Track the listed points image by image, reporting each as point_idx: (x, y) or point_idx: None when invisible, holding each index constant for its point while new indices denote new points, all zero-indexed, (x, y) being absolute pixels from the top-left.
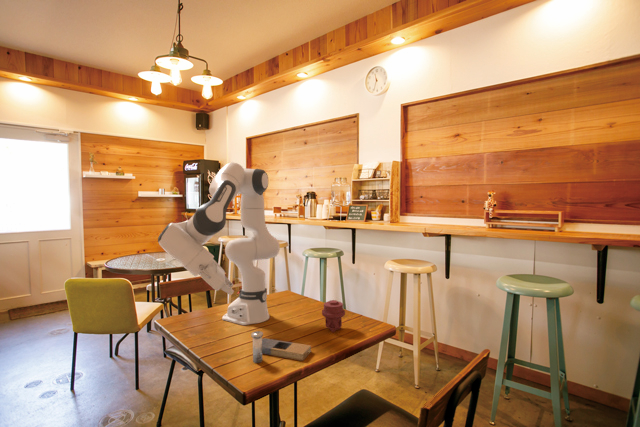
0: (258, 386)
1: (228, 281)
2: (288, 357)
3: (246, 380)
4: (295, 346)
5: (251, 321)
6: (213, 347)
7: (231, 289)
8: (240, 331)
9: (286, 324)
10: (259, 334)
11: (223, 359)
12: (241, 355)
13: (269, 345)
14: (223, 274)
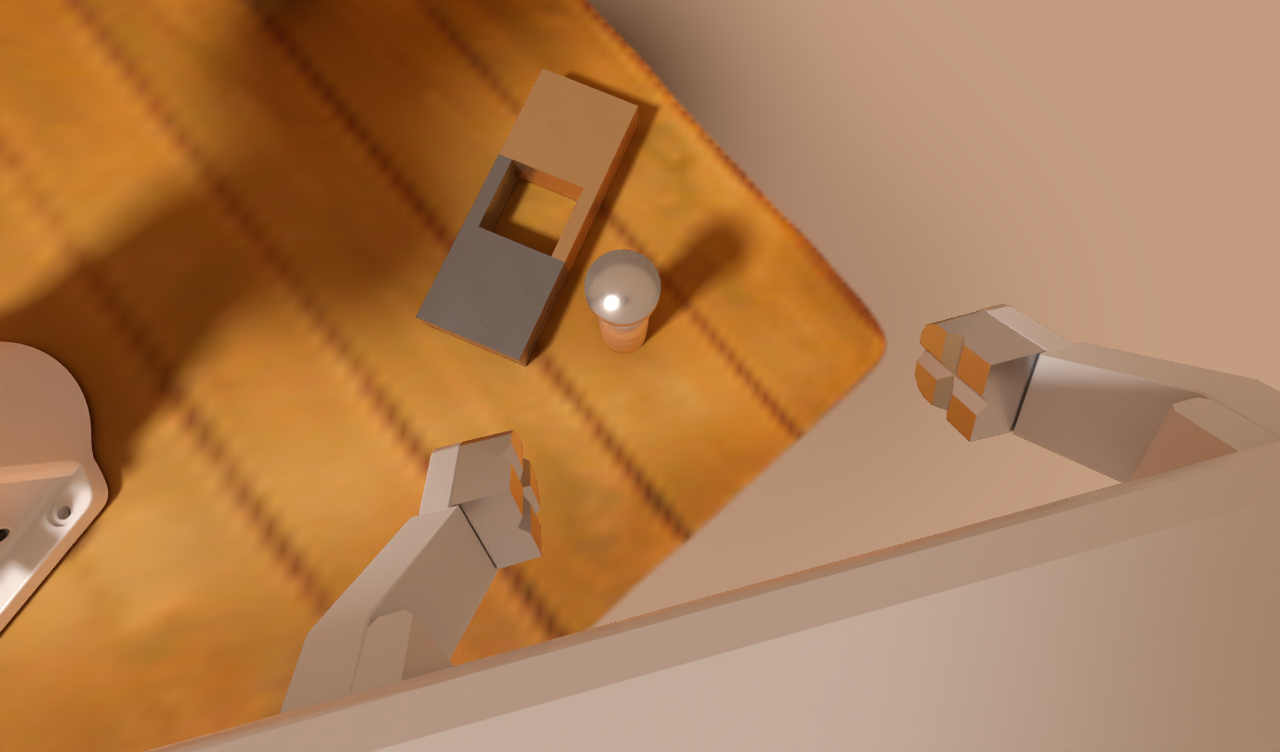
0: (848, 296)
1: (453, 535)
2: (607, 188)
3: (802, 354)
4: (547, 140)
5: (75, 449)
6: None
7: (1047, 329)
8: (213, 501)
9: (150, 224)
10: (641, 269)
11: (597, 512)
12: (558, 425)
13: (522, 273)
14: (803, 656)
